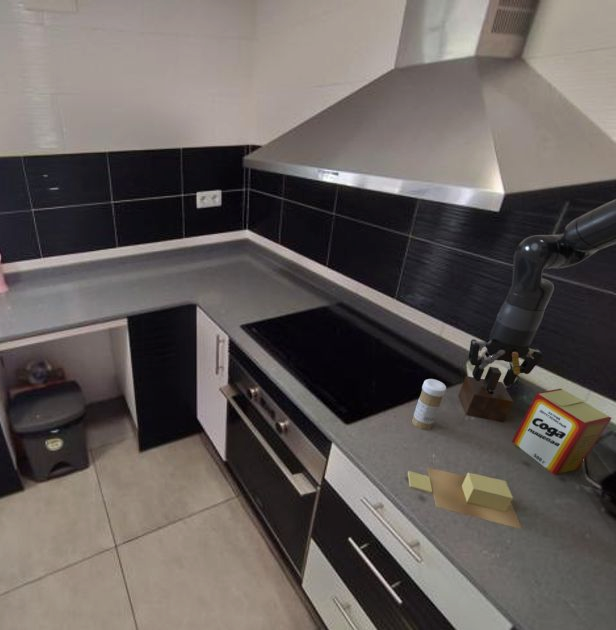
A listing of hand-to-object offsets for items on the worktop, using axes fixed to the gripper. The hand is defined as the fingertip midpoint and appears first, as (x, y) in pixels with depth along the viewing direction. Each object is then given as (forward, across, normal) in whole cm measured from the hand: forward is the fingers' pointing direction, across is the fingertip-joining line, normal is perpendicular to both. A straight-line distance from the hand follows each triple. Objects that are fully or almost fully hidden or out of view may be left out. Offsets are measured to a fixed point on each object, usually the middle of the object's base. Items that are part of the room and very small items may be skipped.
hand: (491, 381), depth 94 cm
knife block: (+10, 0, 0) cm, 10 cm away
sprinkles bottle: (+10, -15, -11) cm, 21 cm away
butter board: (+10, -9, -30) cm, 33 cm away
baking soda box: (+10, +9, -13) cm, 19 cm away
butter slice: (+9, -16, -30) cm, 35 cm away
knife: (+9, 0, 0) cm, 9 cm away
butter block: (+9, -7, -30) cm, 32 cm away
